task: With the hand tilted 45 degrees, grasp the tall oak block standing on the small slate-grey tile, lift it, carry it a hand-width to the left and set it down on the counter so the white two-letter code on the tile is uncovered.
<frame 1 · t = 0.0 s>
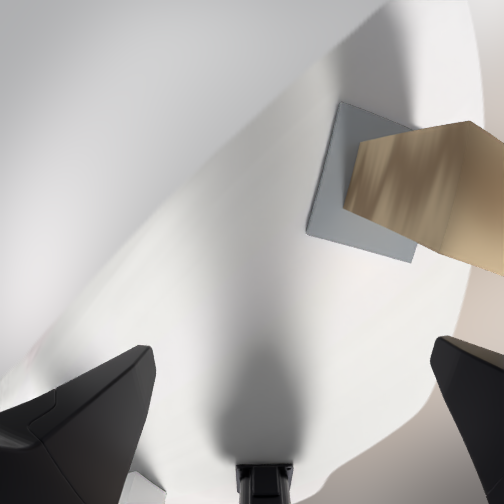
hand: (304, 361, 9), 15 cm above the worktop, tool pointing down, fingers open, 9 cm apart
oak block: (382, 185, 21), point 1 cm above the worktop, touching code tile
milk: (138, 483, 31), on the worktop
code tile: (378, 185, 22), on the worktop
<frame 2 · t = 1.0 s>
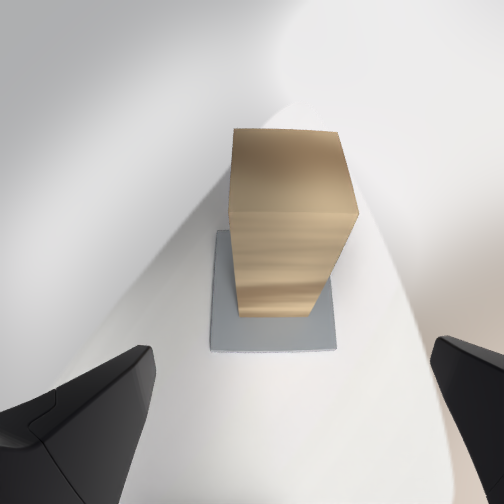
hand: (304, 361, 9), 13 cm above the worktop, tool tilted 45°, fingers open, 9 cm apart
oak block: (273, 285, 24), point 1 cm above the worktop, touching code tile
code tile: (272, 289, 24), on the worktop
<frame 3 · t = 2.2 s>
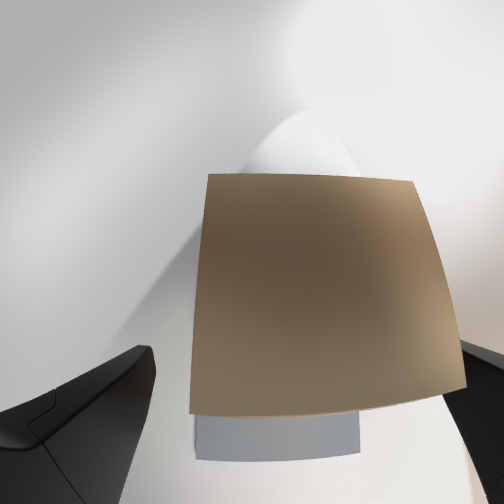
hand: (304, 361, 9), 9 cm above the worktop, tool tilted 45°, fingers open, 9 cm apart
oak block: (278, 375, 16), point 1 cm above the worktop, touching code tile
code tile: (277, 376, 17), on the worktop
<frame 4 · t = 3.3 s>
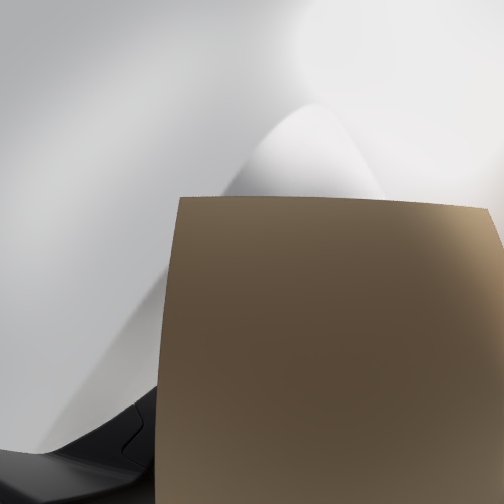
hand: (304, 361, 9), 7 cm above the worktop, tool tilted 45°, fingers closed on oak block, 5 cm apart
oak block: (282, 411, 14), point 1 cm above the worktop, touching code tile, gripper
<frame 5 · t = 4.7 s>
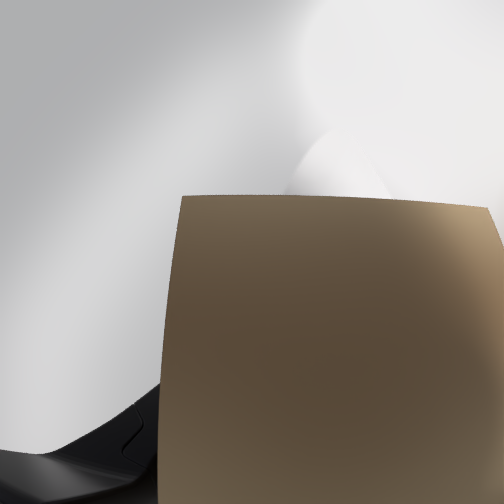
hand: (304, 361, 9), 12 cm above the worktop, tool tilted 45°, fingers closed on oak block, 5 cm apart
oak block: (283, 411, 14), point 5 cm above the worktop, touching gripper
when the fingers open (8 cm above the worktop, at t = 6.1 s): oak block drops 1 cm, on the worktop.
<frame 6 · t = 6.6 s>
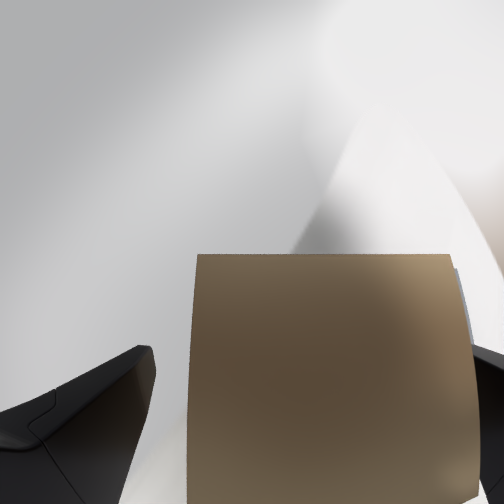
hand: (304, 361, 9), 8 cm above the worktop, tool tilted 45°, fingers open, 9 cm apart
oak block: (280, 412, 15), on the worktop
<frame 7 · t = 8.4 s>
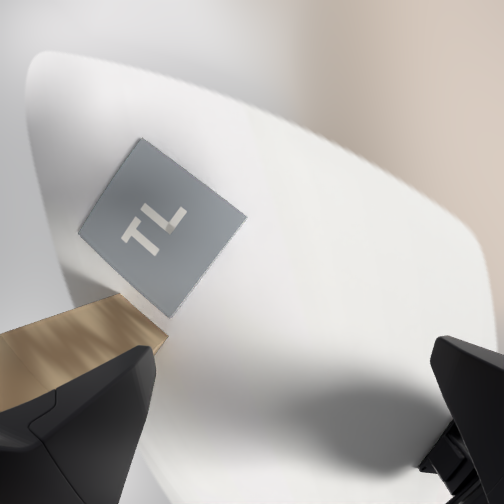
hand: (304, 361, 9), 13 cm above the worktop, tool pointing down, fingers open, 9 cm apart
oak block: (128, 337, 23), on the worktop
code tile: (155, 225, 22), on the worktop
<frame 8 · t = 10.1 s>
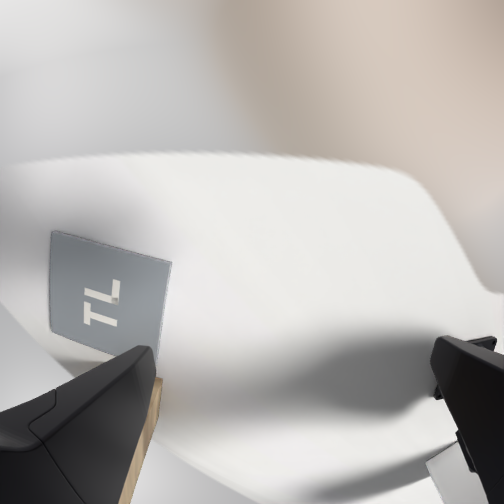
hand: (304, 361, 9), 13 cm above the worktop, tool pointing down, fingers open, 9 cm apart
oak block: (133, 391, 24), on the worktop
milk: (445, 457, 29), on the worktop
code tile: (103, 300, 22), on the worktop
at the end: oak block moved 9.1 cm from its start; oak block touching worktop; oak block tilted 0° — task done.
